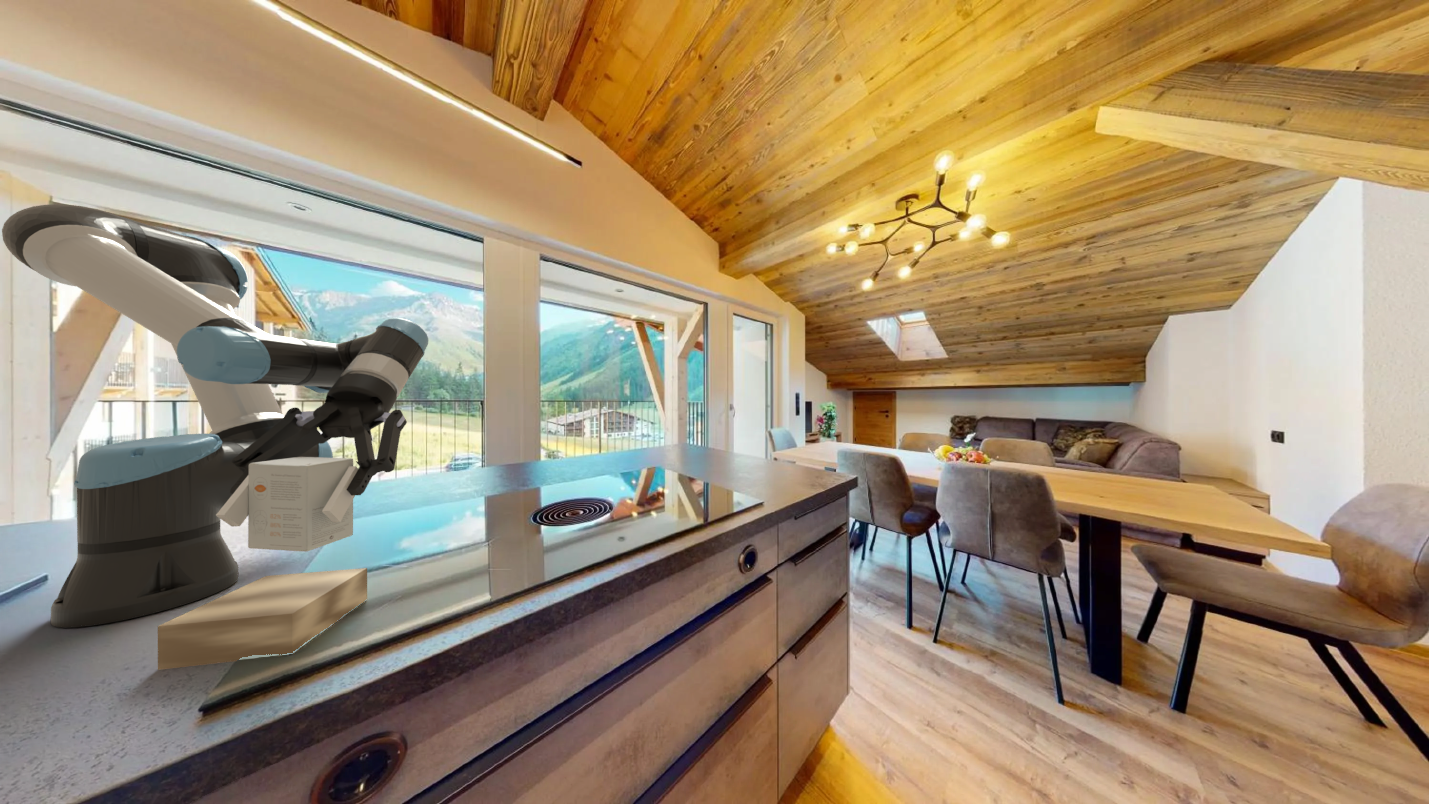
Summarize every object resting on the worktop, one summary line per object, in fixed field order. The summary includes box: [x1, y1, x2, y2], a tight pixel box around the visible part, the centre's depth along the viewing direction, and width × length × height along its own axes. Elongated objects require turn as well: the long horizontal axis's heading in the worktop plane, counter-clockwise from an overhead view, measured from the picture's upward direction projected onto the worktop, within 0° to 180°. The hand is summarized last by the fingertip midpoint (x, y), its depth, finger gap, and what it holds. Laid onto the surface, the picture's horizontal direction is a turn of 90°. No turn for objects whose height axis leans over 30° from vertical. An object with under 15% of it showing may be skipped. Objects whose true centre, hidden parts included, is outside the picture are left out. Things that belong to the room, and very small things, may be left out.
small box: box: [247, 457, 354, 553], centre depth 48 cm, size 8×6×10 cm
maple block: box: [157, 567, 368, 671], centre depth 47 cm, size 12×12×5 cm
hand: (281, 518), depth 45 cm, fingers closed on small box, 9 cm apart
